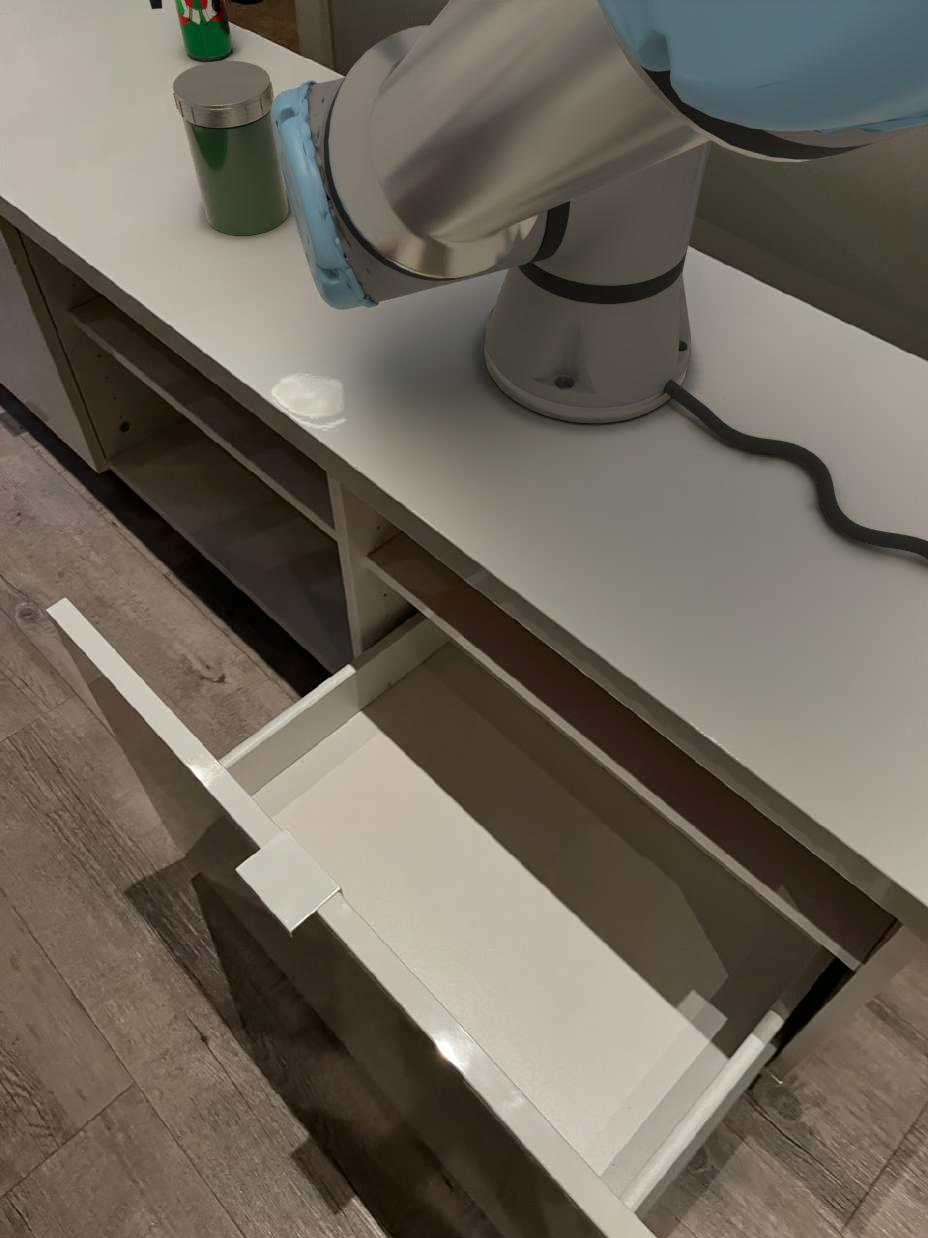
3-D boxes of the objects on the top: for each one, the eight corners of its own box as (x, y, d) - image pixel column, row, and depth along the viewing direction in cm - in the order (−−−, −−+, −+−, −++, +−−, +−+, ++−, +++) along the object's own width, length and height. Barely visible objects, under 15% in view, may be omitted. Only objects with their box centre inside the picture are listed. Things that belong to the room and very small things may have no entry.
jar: (300, 223, 80) (280, 97, 72) (220, 243, 78) (190, 116, 70) (273, 183, 84) (252, 59, 76) (196, 202, 82) (165, 77, 74)
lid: (286, 115, 73) (283, 92, 71) (192, 136, 71) (187, 113, 70) (256, 75, 77) (252, 53, 75) (167, 93, 75) (161, 71, 74)
